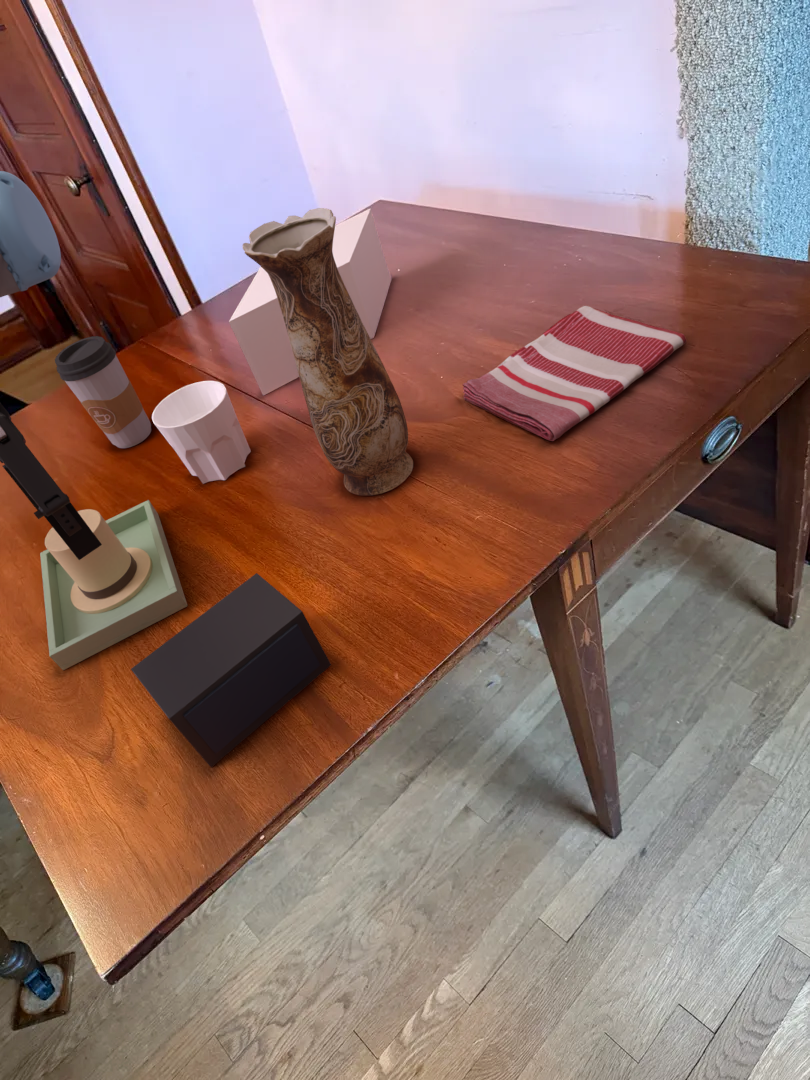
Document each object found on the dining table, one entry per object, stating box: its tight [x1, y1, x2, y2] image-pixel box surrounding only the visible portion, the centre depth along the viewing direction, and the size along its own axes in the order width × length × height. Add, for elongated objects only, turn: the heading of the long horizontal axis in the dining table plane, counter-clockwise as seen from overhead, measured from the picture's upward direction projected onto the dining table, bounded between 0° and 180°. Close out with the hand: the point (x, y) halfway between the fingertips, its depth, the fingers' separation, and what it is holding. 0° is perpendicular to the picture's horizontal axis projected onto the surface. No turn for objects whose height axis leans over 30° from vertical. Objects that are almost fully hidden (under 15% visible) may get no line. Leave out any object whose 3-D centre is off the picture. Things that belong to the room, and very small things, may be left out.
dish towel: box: [462, 305, 687, 442], centre depth 94 cm, size 17×23×3 cm
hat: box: [44, 508, 152, 614], centre depth 85 cm, size 10×10×9 cm
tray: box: [39, 499, 188, 671], centre depth 88 cm, size 20×15×3 cm
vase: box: [241, 207, 414, 496], centre depth 81 cm, size 10×11×30 cm
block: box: [228, 207, 393, 396], centre depth 117 cm, size 18×35×12 cm, turn 145°
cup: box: [151, 380, 252, 485], centre depth 98 cm, size 10×10×10 cm
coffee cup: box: [54, 335, 152, 449], centre depth 108 cm, size 8×8×15 cm
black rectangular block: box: [130, 572, 332, 768], centre depth 68 cm, size 14×8×8 cm, turn 130°
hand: (68, 526), depth 82 cm, fingers open, 13 cm apart
